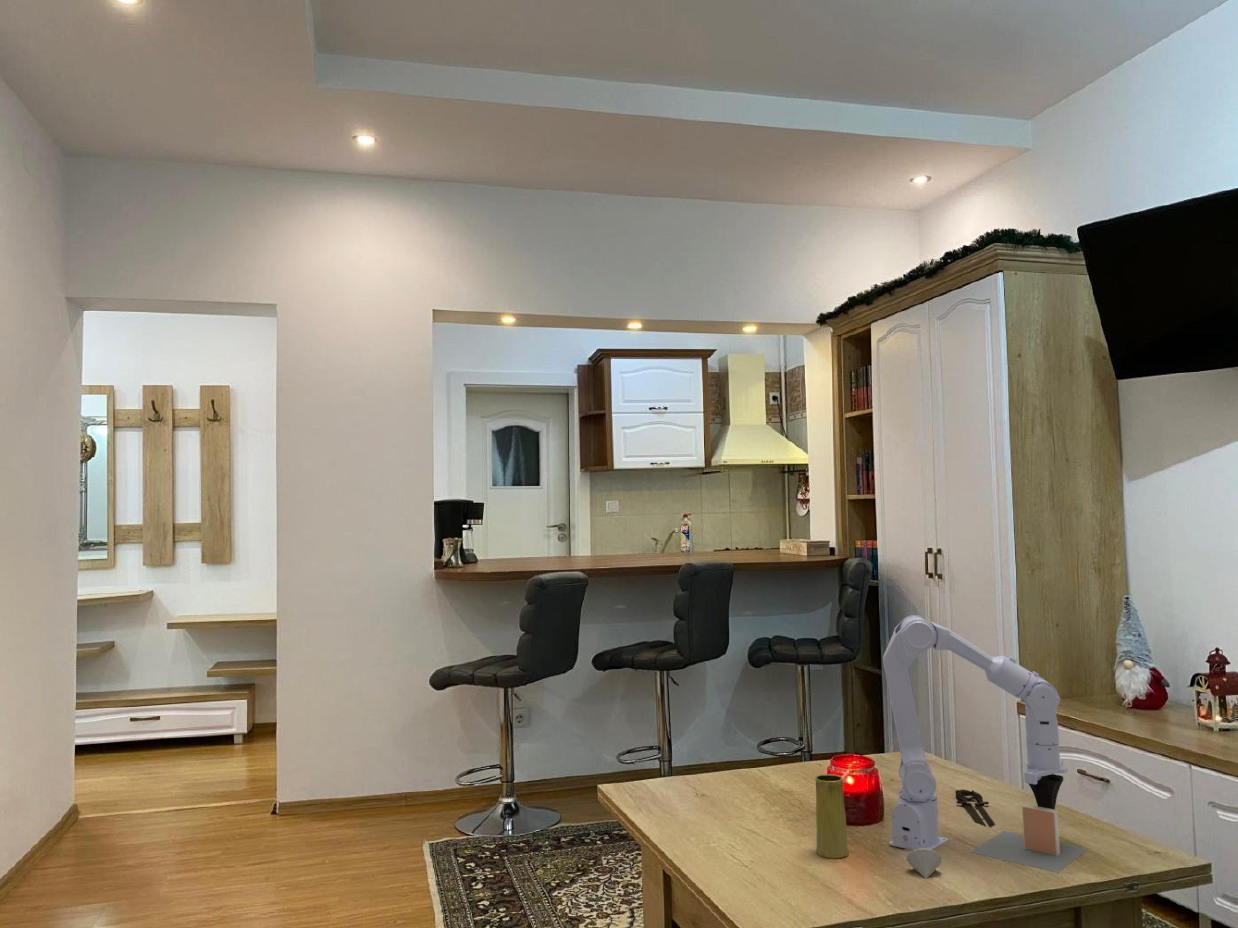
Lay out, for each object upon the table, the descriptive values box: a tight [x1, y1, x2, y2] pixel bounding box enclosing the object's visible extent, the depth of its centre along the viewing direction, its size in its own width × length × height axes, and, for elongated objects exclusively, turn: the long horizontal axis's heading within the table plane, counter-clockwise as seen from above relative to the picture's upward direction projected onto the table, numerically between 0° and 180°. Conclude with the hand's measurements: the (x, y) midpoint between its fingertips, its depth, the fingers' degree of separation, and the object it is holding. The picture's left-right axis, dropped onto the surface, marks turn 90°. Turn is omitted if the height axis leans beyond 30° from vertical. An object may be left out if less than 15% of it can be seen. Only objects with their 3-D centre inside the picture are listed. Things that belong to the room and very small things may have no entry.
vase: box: [815, 773, 850, 859], centre depth 176 cm, size 6×6×14 cm
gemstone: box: [906, 848, 943, 880], centre depth 164 cm, size 6×6×5 cm
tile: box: [1021, 804, 1061, 856], centre depth 173 cm, size 2×6×8 cm, turn 45°
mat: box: [969, 830, 1089, 874], centre depth 173 cm, size 16×16×1 cm
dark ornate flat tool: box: [955, 789, 996, 829], centre depth 199 cm, size 26×7×2 cm, turn 165°
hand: (1046, 814), depth 176 cm, fingers closed
